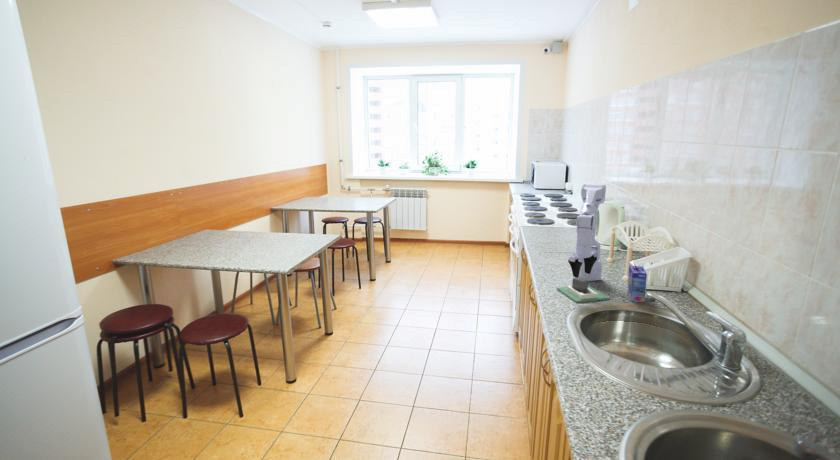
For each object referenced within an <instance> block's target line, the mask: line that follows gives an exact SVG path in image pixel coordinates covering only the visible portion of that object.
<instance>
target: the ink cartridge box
mask: <svg viewBox="0 0 840 460" xmlns="http://www.w3.org/2000/svg"><path fill="white" fill-rule="evenodd" d="M647 277H648V274H647V271H646V270H645V268H644V266H640V265H639V266H638V265H637V264H636V263H635V262H633V265H629V266H628V278H627V295H628V298H629V300H630V302H638V303H646V292H647V291H646V290H647V279H648V278H647Z"/></svg>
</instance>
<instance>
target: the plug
mask: <svg viewBox="0 0 840 460" xmlns="http://www.w3.org/2000/svg"><path fill="white" fill-rule="evenodd" d="M571 285H572V288H573V289H575V290H576V291H578V292H582V293H584V294H587V293H588V285H589V281H588V280H587V279H584V278H581V277H573V278H572V283H571Z"/></svg>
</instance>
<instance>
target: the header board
mask: <svg viewBox="0 0 840 460" xmlns="http://www.w3.org/2000/svg"><path fill="white" fill-rule="evenodd" d="M556 290H557V291H558V292H559V293H561V294H562V295H564V296H566V297H567V298H568V299H569V300H571V301H573V302H574V303H575V304H579V303H588V301H590V302H598V300H600V301H606V300H607V301H608V300H610V299H611V298H610V296H608V295H606V294H604V293H603V292H601V291H599V290H598V289H596V288H594V287H592V286H591V285H589V284H588V293H587V294H584V293H582V292H578V291H576V290H575V289H573V288H572V284H571V285H566V286H564V287H556Z"/></svg>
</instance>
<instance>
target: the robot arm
mask: <svg viewBox="0 0 840 460" xmlns="http://www.w3.org/2000/svg"><path fill="white" fill-rule="evenodd" d="M606 192H607V186H606V184H587V183H586V184H585V183H583V184H582V185H581V190H580V196H581V200H582V203H583V204H582V206H581V208H580V211H579V212H580V213H579V215H577V216H576V221H575V222H576V225H575V226H576V245H575V246H576V247H575V251H573V254H572V255H569V257H568V262H567V263H568V264H569V266H570V268H571V271H572V276H573V278H575V277H581V278H584V279H587V280H588V282H591V281H592V282H593V281H602V280H603V278H602V271H603V269H602V268H603V265H602V262H601V260H600V259H601V250H602V249H601V243H599V242H598V241H597V240H596V231H597V221H598V210H599V207H600V205H601V204H605V203H604V202H605V200H606Z"/></svg>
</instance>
